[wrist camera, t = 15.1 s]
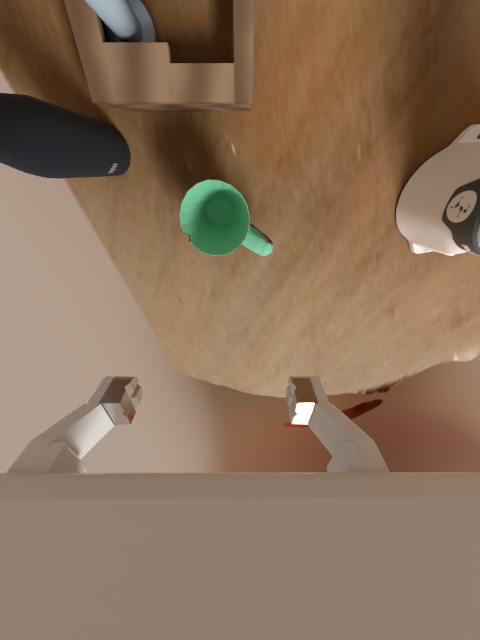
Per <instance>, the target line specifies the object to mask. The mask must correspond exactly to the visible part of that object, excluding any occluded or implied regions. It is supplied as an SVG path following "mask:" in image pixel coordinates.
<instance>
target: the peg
mask: <svg viewBox="0 0 480 640" xmlns="http://www.w3.org/2000/svg"><path fill="white" fill-rule="evenodd" d="M85 1H86V2H87V3H88V5H89V6H90V7H91V8H92V9H93V10H94V11H95V12H96V14H97V15H98V16H99V17H100V18H101V19H102V20H103V21H104V22H105V26H106V31H107V35H108V38H109V40H110V42H157V39H156V31H155V27H154V24H153V22H152V19H151V17H150V15H149V13H148V12H147V10H146V8H145V6H144V5H143V3H142V2H141V1H140V0H85Z"/></svg>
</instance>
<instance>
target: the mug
mask: <svg viewBox="0 0 480 640" xmlns="http://www.w3.org/2000/svg"><path fill="white" fill-rule="evenodd" d="M179 217H180V225H181V228H182V230H183V232H184V234H188V235H189V242H190V244H191V245H192V246H193V247H194V248H196V249H197V250H199V251H200V252H202V253H205V254H208V255H210V256H223V255H226V254H230V253H232V252H233V251H235V250H236V249H237V248H239V247H240V246H241V244H242V245H243V246H245V247H247V248H248V249H250V250H251V251H253V252H255V253H257V254H258V255H260V256H266V255H268V254H270V253H271V251H272V249H273V243H272V242H271V240H270V239H269V238H268V237H267V236H266V235H265V234H263V233H262V232H261V231H260V230H258V229H257V228H256V227H255V226H253V225H252V224H250V214H249V210H248V206H247V203H246V201H245V199H244V198H243V196H242V194H241V193H240V192H239V191H238V190H237V189H236V188H235V187H234V186H233V185H231V184H229V183H227V182H224V181H222V180H214V179H207V180H205V181H202V182H199V183H196V184H195V185H194V186H193V187H192V188H190V189H189V190H188V191H187V193H186V194H185V196H184V198H183V200H182V202H181V207H180V212H179Z"/></svg>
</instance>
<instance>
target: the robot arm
mask: <svg viewBox="0 0 480 640" xmlns="http://www.w3.org/2000/svg"><path fill="white" fill-rule="evenodd" d="M479 134H480V124H473V125H470V126H469V127H467V128H466V129H465V130H464V131H463V132H462V133H461V134H460V135H459V136H458V137H457V138H456V139H455V140H454V141H453V142H452V143H451V144H450V145H449V146H448V147H446V148H445V149H443V150H442V151H440V152H439V153H437V154H435V155H434V156H432V157H431V158H430V159H428V160H427V161H426V162H425V163H424V164H423V165H422V166H421V167H420V168H419V169H418V170H417V171H416V172H415V173H414V174H413V176H412V177H411V178H410V180H409V181H408V183H407V184H406V186H405V188H404V189H403V191H402V193H401V196H400V198H399V201H398V205H397V210H396V222H397V226H398V228H399V230H400V232H401V233H402V234H403V235H404V236H405V237H406V238H407V240H408V241H409V247H410V250H411V252H413V253H416V254H420V253H425V252H431V251H436V252H439V253H442V254H445V255H450V256H453V255H455V254H460V253H465V252H469V253H471V254H474V255H477V256H480V136H479V138H478V139H477V137H478V135H479ZM137 383H138V379H137V378H136V377H117V376H115V377H114V376H111V377H110V376H107V377H105V378H104V379H103V380H102V382H101V383H100V385H99V386H98V388H97V389H96V391H95V392H94V394H93V395H92V397H91V399H90V400H89V402H88V403H87V404H83V405H82V406H81V407H79V408H78V409H76V410H75V411H73V412H72V413H70V414H69V415H68V416H66V417H65V418H63V419H62V420H60V421H59V422H57V423H56V424H55V425H53V426H52V427H50V428H49V429H47V430H46V431H45V432H43V433H42V434H40V435H39V436H37V437H36V438H34V439H33V440H32V441H31V442H30V443H29V444H28V445H27V447H26V448H25V449H24V451H23V452H22V453H21V455H20V456H19V457H18V459H17V460H16V461H15V462H14V464H13V465H12V466H11V467H10V469H9V470H8V471H7V473H0V640H480V473H474V472H389V470H388V468H387V466H386V464H385V462H384V460H383V458H382V456H381V454H380V452H379V450H378V448H377V446H376V444H375V442H374V440H373V439H371V438H370V437H369V436H368V435H367V434H366V433H365V432H364V431H362V430H361V429H360V428H359V427H358V426H357V425H355V423H353V422H352V421H351V420H350V419H349V418H348V417H347V416H346V415H344V414H343V413H342V412H341V411H340V410H339V409H338V408H337V407H335V406H334V405H333V404H329V402H328V399H327V396H326V394H325V391H324V389H323V386H322V383H321V381H320V378H319V377H308V376H296V377H289V379H288V383H289V385H288V386H287V389H286V397H287V403H288V405H289V406H290V411H289V413H290V418H291V423H292V424H308V426H309V427H310V428H311V429H312V431H313V432H314V433H315V434H316V436H317V437H318V438H319V439H320V441H321V442H322V443H323V444H324V446H325V447H326V448H327V449H328V451H329V452H330V453H331V454H332V455H333V457H332V459H331V461H330V463H329V464H328V466H327V471H328V472H324V473H321V472H320V473H319V472H318V473H317V472H316V473H85V471H86V469H87V466H86V465H85V464H84V463H83V462H82V461H81V460H80V459H81V458H82V457H83V456H84V455H85V454H86V453H87V452H88V451H89V450H90V449H91V448H92V447H93V446H94V445H95V444H96V443H97V442H98V441H99V440H100V439H101V438H102V437H103V436H104V435H105V434H106V433H107V432H108V431H109V430H110V429H111V428H112V427H113V426H114V425H117V424H131V423H132V420H133V418H134V416H135V413H136V410H135V407H137V406H138V405H139V404H140V401H141V398H142V389H141V387H140V386H139V385H138V384H137Z"/></svg>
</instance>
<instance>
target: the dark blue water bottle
mask: <svg viewBox="0 0 480 640" xmlns="http://www.w3.org/2000/svg"><path fill="white" fill-rule="evenodd" d="M0 163H3V164H5V165H8V166H10V167H13V168H15V169H18V170H20V171H23V172H25V173H29V174H33V175H37V176H41V177H46V178H78V177H101V176H118V175H121V174H123V173H125V172H126V171H127V169H128V167H129V165H130V151H129V147H128V145H127V143H126V140H125V139H124V137H123V136H122V135H121V133H120V132H119V131H118V130H116V129H115V128H114V127H113V126H111V125H108V124H106V123H103V122H101V121H98V120H95V119H92V118H89V117H87V116H84V115H81V114H78V113H75V112H73V111H70V110H67V109H64V108H61V107H59V106H56V105H53V104H50V103H47V102H45V101H42V100H39V99H36V98H33V97H30V96H28V95H19V94H6V93H0Z"/></svg>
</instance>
